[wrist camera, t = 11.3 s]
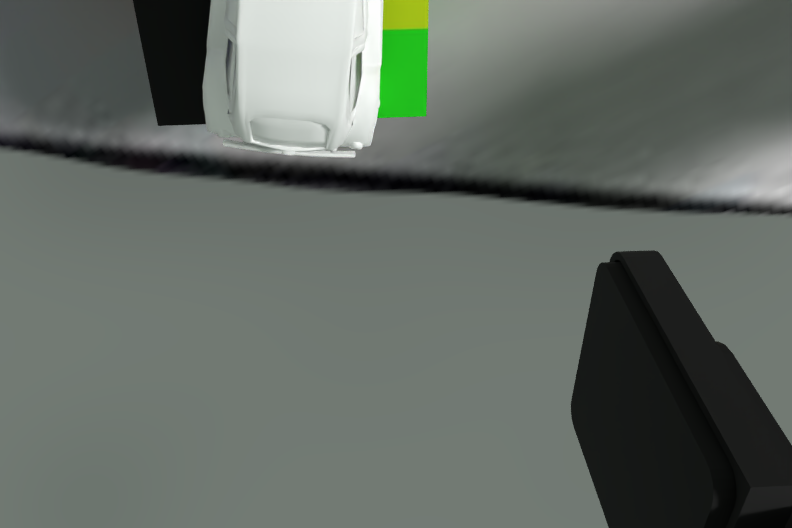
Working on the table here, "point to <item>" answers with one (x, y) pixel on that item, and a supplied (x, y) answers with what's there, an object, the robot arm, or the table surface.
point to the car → (294, 74)
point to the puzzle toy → (187, 47)
